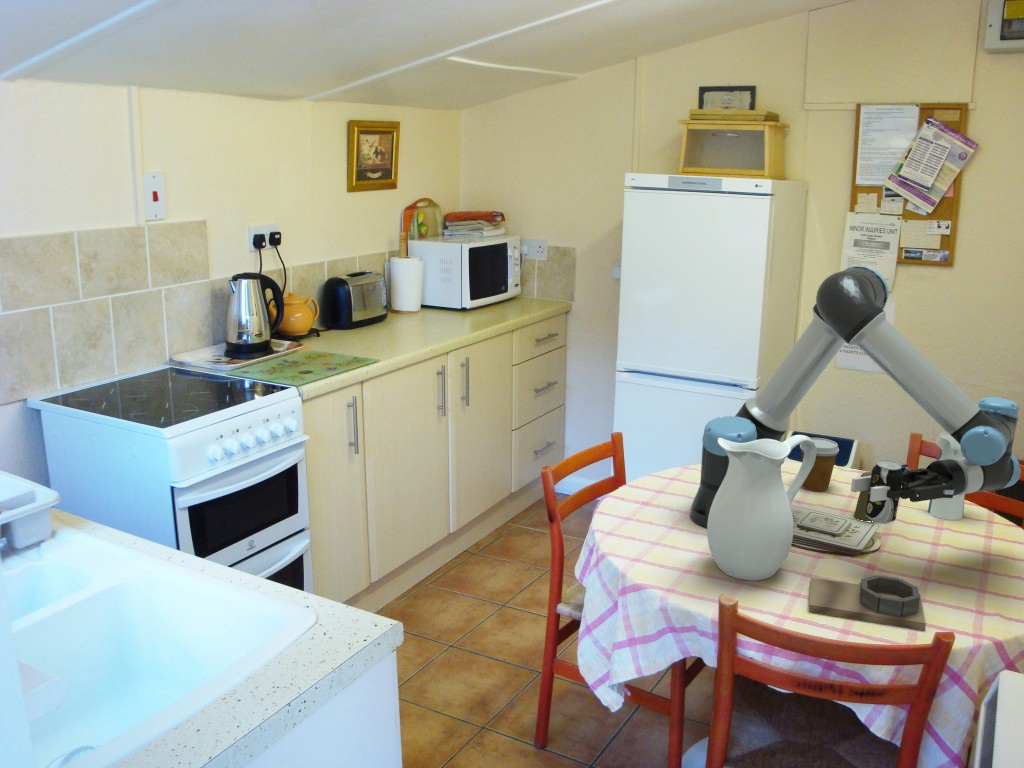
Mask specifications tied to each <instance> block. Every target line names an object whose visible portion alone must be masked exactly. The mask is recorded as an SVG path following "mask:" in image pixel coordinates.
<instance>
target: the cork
mask: <svg viewBox="0 0 1024 768" xmlns="http://www.w3.org/2000/svg"><path fill="white" fill-rule="evenodd" d="M871 472H872V471H866V472H862V474H861V475H860V477H865V476H871ZM868 493H869V490H866V491H859V494H858V498H857V502H856V506H855V509H854V514H853V517H854V519H856V520H858V519H859V520H858V521H860V520H863V521H871V522H872V520H870V519H869V518H868V517H867V516H866V514H865V512H866V505H867V499H868ZM863 521H862V522H863ZM873 522H874V521H873Z"/></svg>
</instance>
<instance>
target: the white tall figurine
mask: <svg viewBox="0 0 1024 768" xmlns="http://www.w3.org/2000/svg"><path fill="white" fill-rule="evenodd" d="M935 444H936V446H937V447H938V448H939V449H940V452H939V455H938V456H937V457H936V460H935V461H938V460H946V459H952V458H959V457H964V456H963V454H962V452H961V447H960V444H959V443H958V442H957V441H956V440H955V439H954V438H953V437H952V436H951V435H950V434H949V433H948V432H947V431H945V432H941V433H940V434H939V437H938V438H937V440H935ZM965 497H966V494H963V495H962V496H959V495H955V496H953V498H939V499H932V500H929V503H928V508H927V513H928V514H929V513H930V514H931V515H930V514H929V515H930V516H932V515H933V516H932V517H934V516H935V518H937V519H940V518H941V519H940V520H945V519H946V520H945V521H959V519H960V520H962V519H963V518H964V509H965V501H966V500H965V499H966V498H965Z"/></svg>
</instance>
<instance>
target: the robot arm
mask: <svg viewBox="0 0 1024 768" xmlns="http://www.w3.org/2000/svg"><path fill="white" fill-rule="evenodd" d="M889 292H890V291H889V286H888V283H887V281H886V280H885V277H883V275H882V274H881V273H880V272H878V271H877V270H875V269H874V268H872V267H868V266H861V265H856V266H851V267H847V268H845V269H844V270H842V271H838V272H837V271H836V272H834V273H832V274H830V275H829V276H827V277H826V278H825V279H824V280H823V281H822V282H821V284H820V285H819V287H818V290H817V292H816V297H815V298H816V299H815V304H814V306H813V307H812V314H813V319H812V320H811V322H810V323H809V324H808V325H807V327H806V329H805V330H804V331H803V333H802V334H801V336H800V337H799V338H798V340H797V341H796V343H795V344H794V345H793V347H792V348H791V349H790V351H789V352H788V353H787V354H786V356H785V357H784V359H783V361H782V362H781V363H780V364H779V366H778V367H777V368H776V370H775V372H773V374H772V376H771V377H770V378H769V380H768V381H767V383H766V384H765V385H764V386H763V388H762V389H761V391H760V392H759V393H758V395H757V396H755V397H750V398H747V399H746V401H745V402H744V403H743V404H742V406H741V407H740V409H739V410H738V412H737V413H736V414H735V415H734V416H733V415H730V416H729V415H726V416H725V415H724V416H722V417H716V418H714V419H711V420H709V421H708V422H707V423H706V425H705V426H704V429H703V434H702V441H701V442H702V449H701V465H700V466H701V467H700V470H701V471H700V481H699V482H700V483H699V486H698V488H697V489H698V490H697V492H696V494H695V496H694V499H693V501H692V503H691V507H690V518H691V520H692V522H694V523H696V524H697V525H699V526H701V527H703V528H707V523H708V516H709V512H710V508H711V505H712V503H713V500H714V498H715V495H716V493H717V491H718V489H719V488H720V486H721V484H722V482H723V480H724V478H725V476H726V473H727V470H728V466H729V457H728V455H727V453H726V452H725V451H724V450H723V449H722V448H721V447H720V446H719V445H718V441H717V440H718V438H723V439H725V440H728V441H732V442H737V443H747V442H751V441H755V440H759V439H773V440H777V441H780V442H781V440H782V438H783V435H785V433H786V432H787V430H788V429H789V426H790V425H789V420H788V418H789V417H790V416H791V414H792V413H793V411H794V410H796V408H797V406H798V405H799V404H800V402H801V401H802V400H803V399H804V397H805V396H806V394H808V392H809V391H810V390H811V388H812V387H813V386H814V384H815V383H816V381H818V379H819V377H820V376H821V374H822V373H823V372H824V371H825V370H826V368H827V367H828V365H829V364H830V363H831V361H833V359H834V357H835V356H836V355H837V353H838V352H839V351H840V349H841V348H842V347H843V346H844V344H845V343H846V344H847V345H849V346H857V347H858V348H859V349H860V350H861V351H862V352H863V353H864V354H865V355H867V356H868V357H869V358H870V359H871V360H872V362H874V363H875V364H876V365H877V366H878V367H879V368H880V369H881V370H882V371H883V372H884V373H885V374H886V375H887V376H888V377H889V378H891V380H892V381H893V382H895V383H896V384H897V385H898V386H899V387H900V388H901V390H903V391H904V392H905V393H906V394H907V395H908V396H909V397H910V398H911V399H912V400H913V401H914V402H915V403H916V404H917V405H918V406H920V408H922V409H923V410H924V411H925V412H926V414H928V415H929V416H930V417H931V418H932V419H933V420H934V421H935V422H937V424H938V425H939V426H940V427H941V428H942V429H943V430H944V431H945V432H948V433H949V434H950V435H951V436H952V437H953V438H954V439H955V440H956V441H957V442H958V443H959V444H960V447H961V452H962V454H963V456H964V457H959V458H952V459H946V460H938V461H937V460H934V461H932V462H930V463H929V465H927V466H926V468H917V469H910V468H909V465H908V464H906V463H905V464H900V465H901V470H902V472H903V480H902V486H901V488H900V489H897V490H890V487H889V486H878V487H871V495H870V501H872V502H875V501H882V500H889V499H894V498H899V499H902V500H908V499H909V501H910V502H912V503H918V502H925V501H930V500H932V499H939V498H953V496H955V495H959V496H962V495H963V494H965V495H966V494H973V493H980V492H987V491H1000V490H1002V489H1006V488H1009V487H1011V486H1014V485H1016V484H1017V482H1018V481H1019V479H1020V477H1021V473H1022V469H1021V467H1020V462H1019V460H1018V459H1017V457H1016V456H1015V455H1013V454H1012V453H1013V445H1014V440H1015V434H1016V430H1017V425H1018V424H1017V423H1018V420H1019V409H1020V408H1019V404H1018V403H1017V402H1015V401H1013V400H1012V399H1011V400H1010V399H1007V398H1003V397H994V396H988V397H987V396H986V397H983V398H981V399H980V400H979V401H978V405H977V403H975V402H974V401H973V400H972V399H971V398H970V397H969V396H967V394H965V393H964V392H963V391H962V390H961V389H960V388H959V387H958V386H957V385H956V384H955V383H954V382H953V381H951V379H949V377H948V376H946V375H945V374H944V373H943V372H942V371H941V369H939V368H938V367H937V366H936V365H935V364H933V362H931V361H930V360H929V359H928V357H926V356H925V354H923V352H921V351H920V350H919V349H918V348H917V347H916V346H915V345H914V344H912V343H911V342H910V341H909V340H908V339H907V338H906V336H904V335H903V334H902V333H901V332H900V331H899V330H898V329H897V328H896V327H894V326H893V324H891V323H890V321H888V320H887V318H886V313H887V312H886V311H885V310H884V308H885V306H886V304H887V302H888V298H889V294H890V293H889ZM870 472H871V475H872V471H870ZM870 481H871V476H865V477H861V476H859V477H858V476H857V477H852V478H851V485H850V492H851V493H858V492H859V493H860V491H866V490H869V487H870Z"/></svg>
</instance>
